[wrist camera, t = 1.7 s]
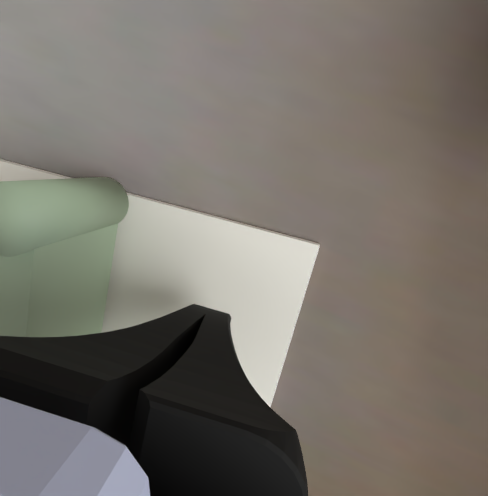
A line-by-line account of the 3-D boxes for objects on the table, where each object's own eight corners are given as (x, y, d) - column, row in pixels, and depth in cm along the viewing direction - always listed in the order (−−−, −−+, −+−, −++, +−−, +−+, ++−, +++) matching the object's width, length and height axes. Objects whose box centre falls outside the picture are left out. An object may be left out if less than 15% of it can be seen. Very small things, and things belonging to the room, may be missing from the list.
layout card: (198, 638, 18) (196, 651, 18) (-137, 516, 20) (-147, 525, 20) (319, 243, 13) (320, 246, 13) (-153, 118, 15) (-168, 116, 14)
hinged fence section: (86, 471, 16) (1, 596, 11) (49, 459, 16) (-49, 577, 11) (132, 183, 13) (39, 192, 8) (86, 171, 13) (-32, 173, 8)
